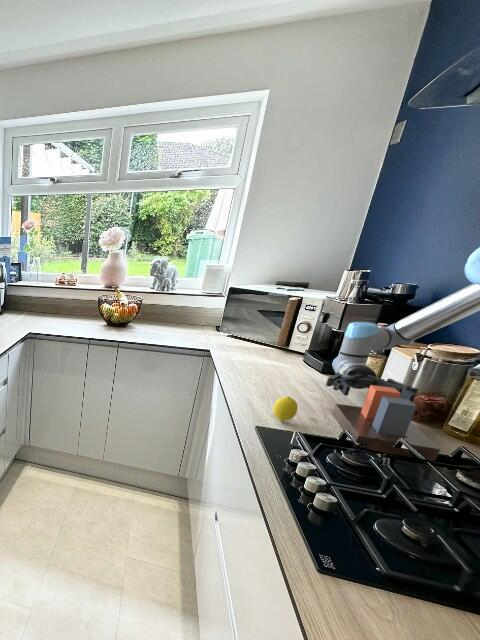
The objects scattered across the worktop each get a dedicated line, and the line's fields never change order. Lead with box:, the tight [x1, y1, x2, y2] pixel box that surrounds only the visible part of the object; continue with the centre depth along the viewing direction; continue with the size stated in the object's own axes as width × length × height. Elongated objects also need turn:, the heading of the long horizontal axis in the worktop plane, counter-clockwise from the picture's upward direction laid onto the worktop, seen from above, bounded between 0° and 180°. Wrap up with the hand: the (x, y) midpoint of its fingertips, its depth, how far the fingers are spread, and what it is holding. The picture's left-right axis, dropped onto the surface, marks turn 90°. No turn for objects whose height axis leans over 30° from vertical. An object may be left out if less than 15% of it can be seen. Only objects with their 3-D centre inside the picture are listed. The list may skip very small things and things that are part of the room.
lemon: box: [272, 395, 298, 422], centre depth 118 cm, size 6×6×8 cm
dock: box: [331, 403, 441, 463], centre depth 110 cm, size 15×25×4 cm, turn 149°
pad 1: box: [360, 385, 401, 420], centre depth 113 cm, size 5×5×12 cm
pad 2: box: [372, 396, 417, 437], centre depth 104 cm, size 5×5×12 cm
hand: (378, 395), depth 114 cm, fingers open, 13 cm apart
